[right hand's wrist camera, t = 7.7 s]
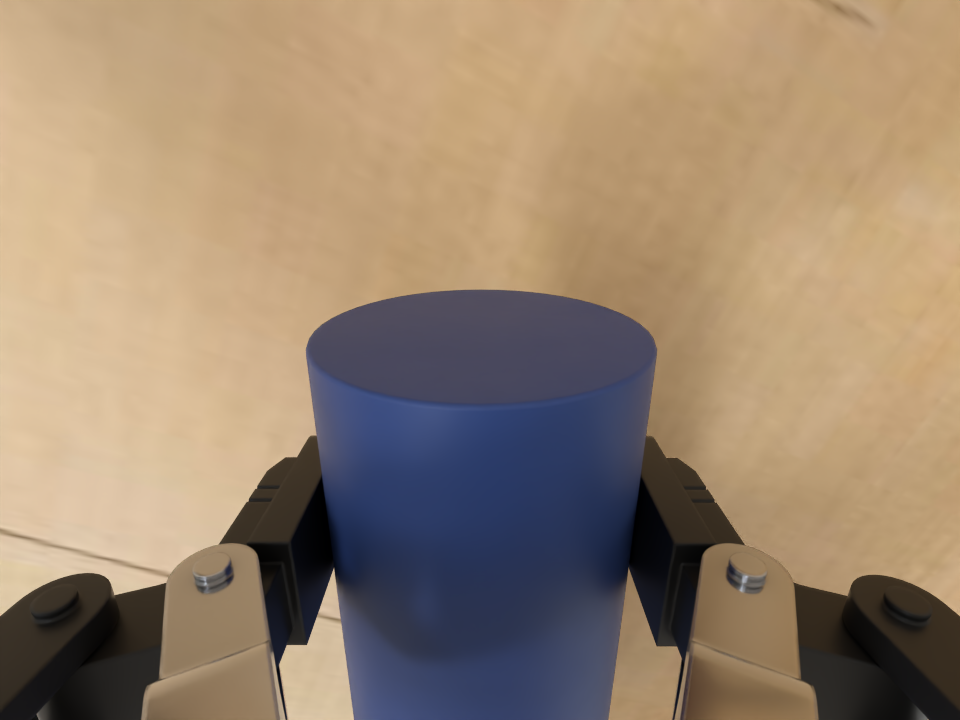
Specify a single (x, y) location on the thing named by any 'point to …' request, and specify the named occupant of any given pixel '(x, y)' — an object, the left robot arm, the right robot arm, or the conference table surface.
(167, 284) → the conference table surface
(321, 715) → the conference table surface
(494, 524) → the rod
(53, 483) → the conference table surface
